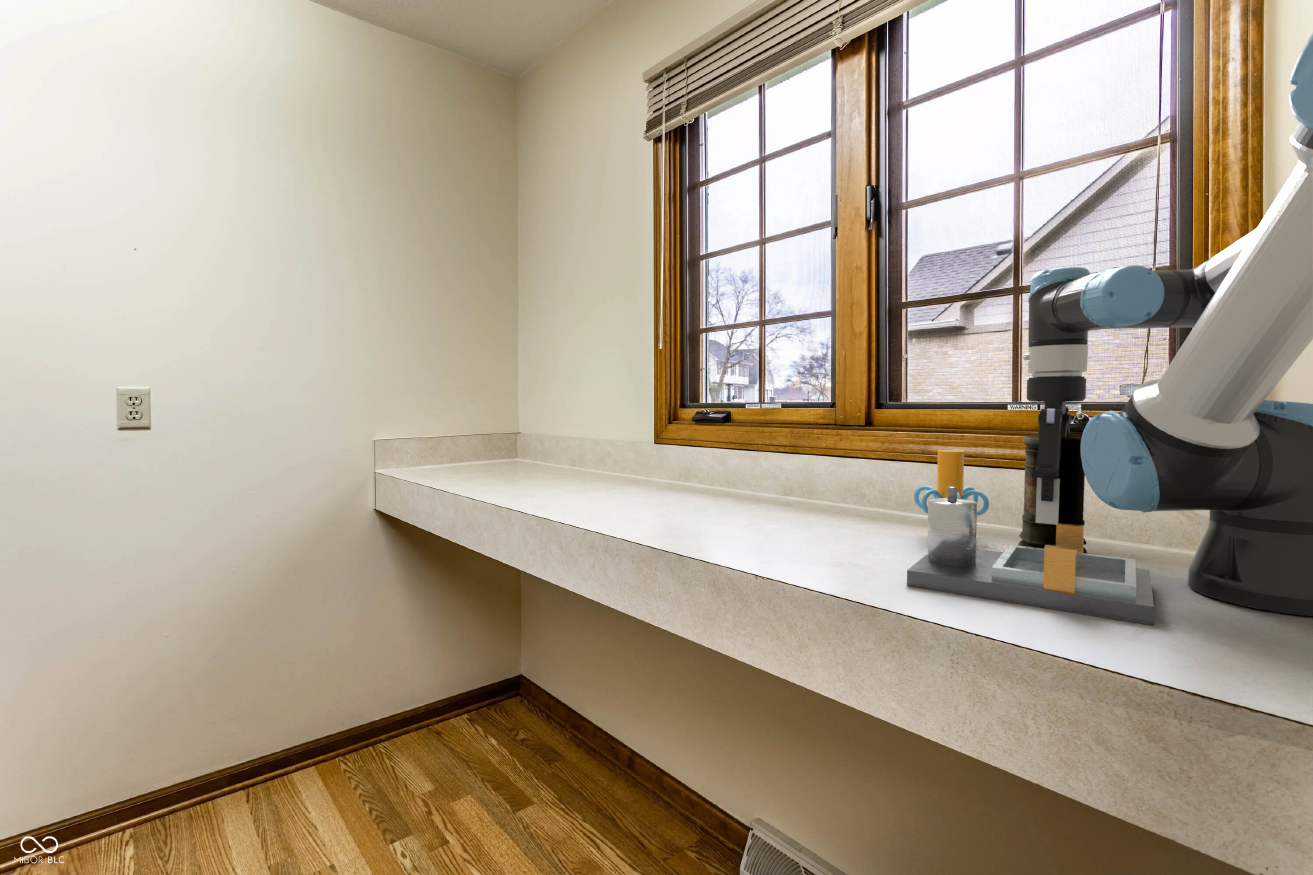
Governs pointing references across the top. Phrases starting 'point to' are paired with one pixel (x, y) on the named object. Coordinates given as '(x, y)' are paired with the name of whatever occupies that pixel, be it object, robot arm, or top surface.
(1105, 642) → the top surface
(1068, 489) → the container
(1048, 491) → the robot arm
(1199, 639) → the top surface
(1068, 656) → the top surface
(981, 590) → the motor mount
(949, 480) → the orange cylinder with loops
